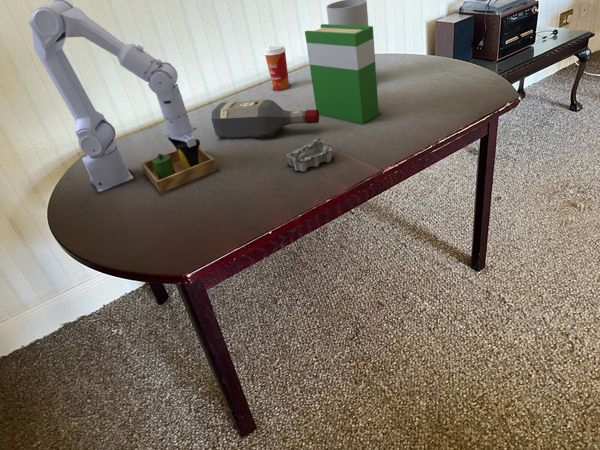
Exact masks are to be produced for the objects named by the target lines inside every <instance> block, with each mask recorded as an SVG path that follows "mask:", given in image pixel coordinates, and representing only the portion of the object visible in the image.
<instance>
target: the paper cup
mask: <svg viewBox="0 0 600 450" xmlns="http://www.w3.org/2000/svg"><path fill="white" fill-rule="evenodd" d="M286 51H287V49H286V48H285V46H284V45H283V44H274V45H270V46H267V47H265V48H264V52H263V55H264V57H265V59H266V65H267V68H268V72H269V76H270V80H271V83H272V87H273V90H274V91H277V92H278V91H284V90H287V89H289V88H290V80H289V72H288V71H289V70H288V63H287V56H286Z"/></svg>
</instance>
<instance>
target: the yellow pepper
mask: <svg viewBox="0 0 600 450" xmlns="http://www.w3.org/2000/svg"><path fill="white" fill-rule="evenodd" d="M178 153H179V156H180V159H181V162H182V165H183V168H184V170H186V169H188V168H191V167H190V165H189V164H188V162H187V160H186V158H185V156H184V154H183V153H182V152H181V150H180V149H179V150H178ZM199 164H201V163H200V160H199Z"/></svg>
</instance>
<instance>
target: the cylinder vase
mask: <svg viewBox="0 0 600 450" xmlns="http://www.w3.org/2000/svg"><path fill="white" fill-rule="evenodd" d="M367 1H368V0H339V1H335V2H332V3H329V4H327V5H326V16H327V24H332V25H355V26H369V14H368V13H369V12H368V2H367Z"/></svg>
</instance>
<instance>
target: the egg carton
mask: <svg viewBox="0 0 600 450" xmlns="http://www.w3.org/2000/svg"><path fill="white" fill-rule="evenodd" d="M332 151H334V149H333V148H332V147H330V146H329V145H327V144H326V142H325V141H324V140H323V139H322V138H321V137H318V138H317V137H316V138H314V139H312V140H310V141H309V143H308V144H304V145H303V146H302V147H300V148H297V149H295V150H293V151H292V152H290V153H286V154H285V156H286V158H287V160H288V165H289V166H290V167H294V171H297V172H298V171H299V172H303V173H304V172H307V169H308V168H310V167H314V168H317V167H319V165H320V163H329V162H331V160H332V158H333V153H332Z"/></svg>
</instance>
